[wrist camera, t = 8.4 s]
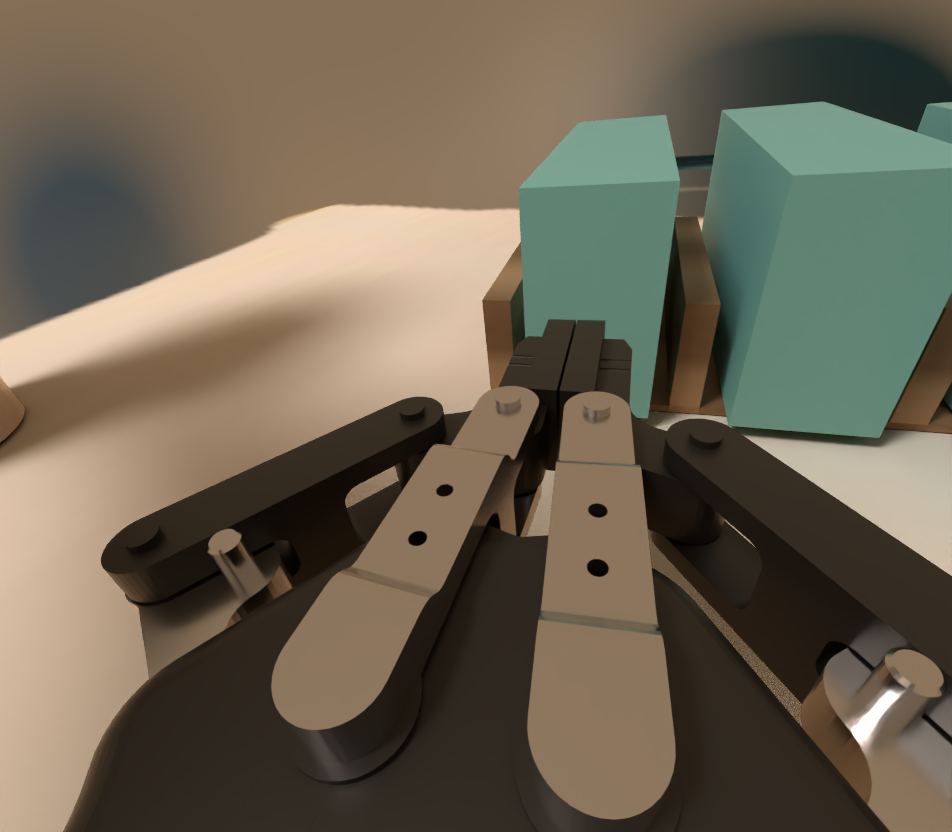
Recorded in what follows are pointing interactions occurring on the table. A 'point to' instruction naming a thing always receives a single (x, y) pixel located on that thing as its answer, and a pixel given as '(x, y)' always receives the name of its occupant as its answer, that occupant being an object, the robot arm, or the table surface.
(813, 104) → the plunger middle
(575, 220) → the plunger
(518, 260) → the slot block
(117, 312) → the table surface
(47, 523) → the table surface
